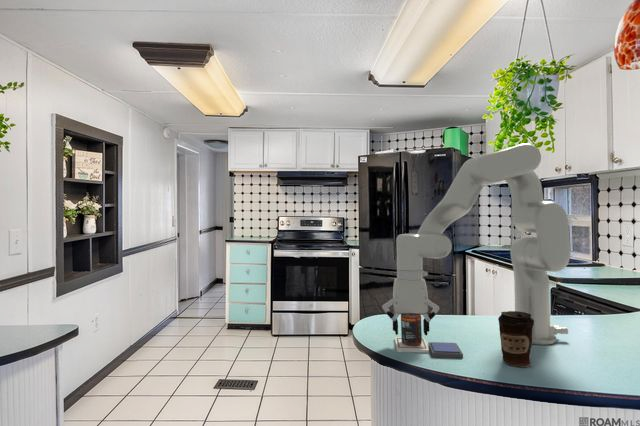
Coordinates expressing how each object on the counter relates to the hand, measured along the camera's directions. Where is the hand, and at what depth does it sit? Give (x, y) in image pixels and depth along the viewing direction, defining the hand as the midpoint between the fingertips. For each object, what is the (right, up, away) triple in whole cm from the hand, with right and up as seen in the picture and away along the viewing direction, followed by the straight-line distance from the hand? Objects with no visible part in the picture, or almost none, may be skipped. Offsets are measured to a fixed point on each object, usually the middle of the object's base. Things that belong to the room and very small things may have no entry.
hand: (410, 333), depth 109 cm
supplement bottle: (0, -3, 0) cm, 3 cm away
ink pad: (+8, -4, -5) cm, 11 cm away
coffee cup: (+24, -4, -14) cm, 28 cm away
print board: (0, -4, 0) cm, 4 cm away
